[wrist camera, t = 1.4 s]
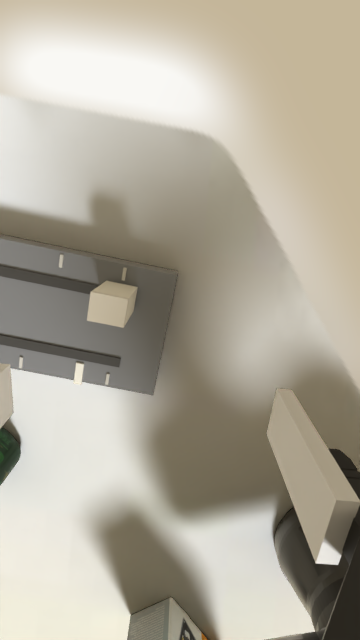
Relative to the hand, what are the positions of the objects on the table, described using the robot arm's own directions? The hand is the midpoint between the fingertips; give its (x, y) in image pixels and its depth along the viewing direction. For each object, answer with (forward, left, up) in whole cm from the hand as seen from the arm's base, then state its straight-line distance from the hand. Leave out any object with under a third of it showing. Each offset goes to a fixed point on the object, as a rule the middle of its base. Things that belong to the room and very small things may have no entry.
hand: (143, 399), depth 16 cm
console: (+13, +3, -20) cm, 24 cm away
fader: (+4, -1, -16) cm, 17 cm away
